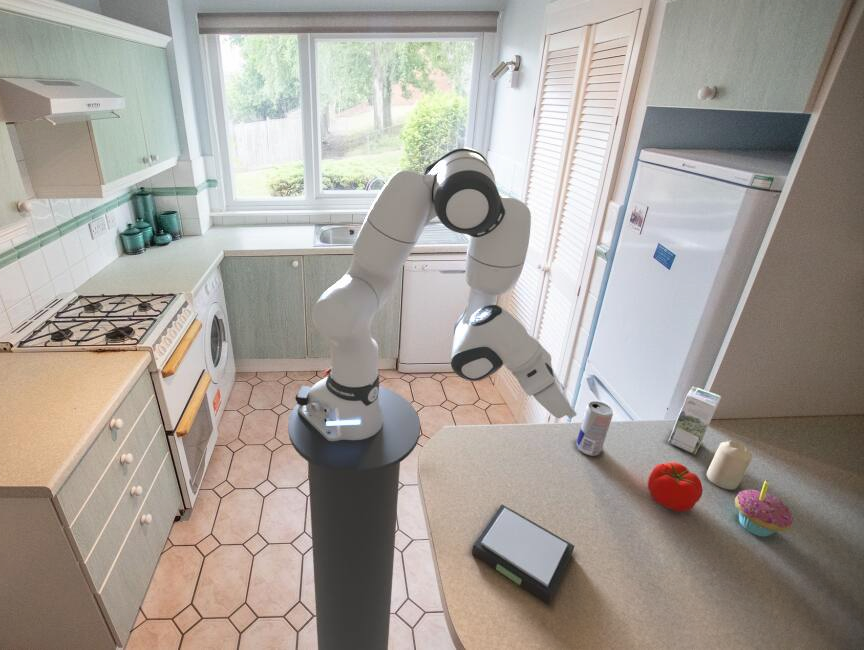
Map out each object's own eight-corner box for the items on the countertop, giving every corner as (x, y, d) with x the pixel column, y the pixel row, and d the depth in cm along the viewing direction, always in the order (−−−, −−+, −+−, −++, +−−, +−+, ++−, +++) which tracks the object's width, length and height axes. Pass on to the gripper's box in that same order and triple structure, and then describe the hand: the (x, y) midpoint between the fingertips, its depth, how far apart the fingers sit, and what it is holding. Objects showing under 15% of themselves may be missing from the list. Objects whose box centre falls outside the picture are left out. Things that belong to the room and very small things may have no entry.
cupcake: (742, 541, 86) (768, 495, 80) (718, 504, 93) (740, 460, 88) (793, 548, 84) (823, 503, 79) (765, 511, 92) (790, 467, 86)
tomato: (664, 478, 99) (675, 452, 96) (704, 510, 92) (717, 483, 88) (632, 489, 97) (642, 463, 93) (670, 523, 89) (682, 496, 86)
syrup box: (701, 443, 109) (722, 395, 103) (694, 456, 105) (716, 406, 99) (673, 432, 113) (693, 384, 106) (666, 443, 109) (686, 394, 103)
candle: (739, 493, 96) (757, 458, 91) (707, 483, 98) (724, 448, 94) (735, 476, 100) (752, 441, 95) (704, 467, 102) (720, 432, 98)
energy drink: (587, 438, 111) (599, 398, 105) (605, 452, 106) (619, 412, 101) (570, 444, 109) (582, 404, 104) (588, 459, 104) (601, 418, 99)
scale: (470, 555, 83) (472, 544, 82) (499, 512, 91) (502, 501, 90) (547, 606, 75) (551, 595, 73) (571, 554, 83) (575, 543, 82)
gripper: (508, 346, 110) (543, 382, 113) (526, 397, 92) (567, 438, 95) (530, 331, 108) (565, 368, 111) (553, 380, 89) (594, 423, 92)
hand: (566, 401), depth 103 cm, fingers open, 8 cm apart
